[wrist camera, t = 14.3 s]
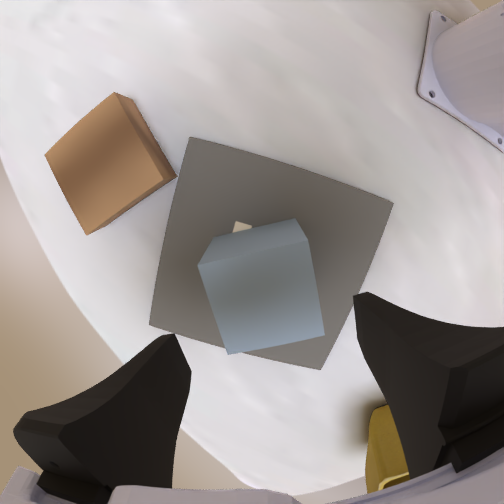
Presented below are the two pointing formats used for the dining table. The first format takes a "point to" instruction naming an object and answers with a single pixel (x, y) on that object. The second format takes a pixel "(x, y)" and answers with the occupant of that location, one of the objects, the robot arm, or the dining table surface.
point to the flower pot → (384, 453)
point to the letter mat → (254, 215)
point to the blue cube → (262, 287)
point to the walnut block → (108, 163)
